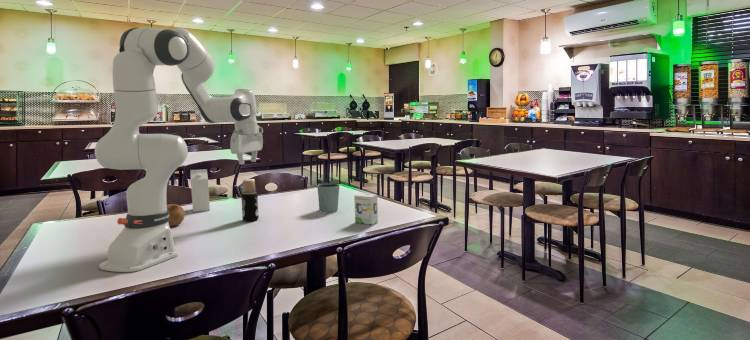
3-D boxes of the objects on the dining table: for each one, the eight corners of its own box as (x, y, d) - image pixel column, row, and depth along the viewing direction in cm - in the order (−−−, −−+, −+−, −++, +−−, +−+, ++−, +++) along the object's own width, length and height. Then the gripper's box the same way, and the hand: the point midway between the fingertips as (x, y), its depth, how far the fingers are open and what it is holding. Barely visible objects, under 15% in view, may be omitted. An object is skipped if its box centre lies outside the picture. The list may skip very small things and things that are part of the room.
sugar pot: (251, 193, 176) (251, 181, 175) (241, 193, 177) (240, 180, 176) (257, 191, 180) (256, 179, 179) (247, 191, 181) (246, 178, 180)
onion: (179, 233, 171) (182, 214, 167) (154, 229, 169) (156, 209, 164) (186, 220, 179) (189, 200, 175) (162, 215, 177) (164, 195, 173)
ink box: (378, 222, 175) (378, 194, 174) (372, 225, 171) (372, 196, 169) (360, 219, 179) (360, 192, 178) (354, 222, 175) (353, 194, 173)
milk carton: (192, 209, 200) (190, 169, 198) (208, 207, 203) (206, 168, 201) (193, 212, 194) (190, 171, 191) (209, 210, 197) (207, 170, 194)
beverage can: (254, 222, 176) (252, 194, 175) (239, 221, 178) (238, 193, 176) (261, 218, 183) (260, 191, 181) (247, 217, 184) (246, 190, 182)
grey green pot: (314, 212, 193) (313, 186, 191) (323, 207, 203) (322, 182, 201) (334, 213, 190) (334, 187, 188) (343, 208, 200) (342, 183, 198)
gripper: (239, 130, 164) (241, 166, 166) (264, 128, 184) (266, 160, 186) (225, 130, 165) (227, 165, 167) (251, 128, 185) (253, 160, 187)
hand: (247, 163), depth 177 cm, fingers open, 8 cm apart
